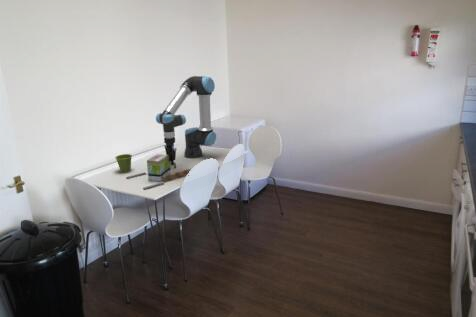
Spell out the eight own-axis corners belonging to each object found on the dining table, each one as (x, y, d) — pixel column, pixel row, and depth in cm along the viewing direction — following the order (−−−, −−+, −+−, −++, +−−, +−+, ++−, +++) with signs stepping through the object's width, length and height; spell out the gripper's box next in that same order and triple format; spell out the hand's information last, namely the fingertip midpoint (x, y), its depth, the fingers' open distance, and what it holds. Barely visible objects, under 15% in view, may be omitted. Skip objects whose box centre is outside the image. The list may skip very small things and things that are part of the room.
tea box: (161, 181, 237) (159, 161, 233) (148, 180, 240) (145, 160, 235) (170, 174, 251) (169, 154, 247) (158, 173, 254) (156, 153, 249)
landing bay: (144, 173, 253) (144, 172, 253) (164, 184, 233) (163, 183, 233) (126, 178, 245) (126, 177, 244) (144, 190, 224) (144, 188, 224)
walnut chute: (174, 167, 265) (174, 162, 264) (190, 174, 249) (190, 169, 248) (149, 173, 252) (148, 168, 251) (164, 182, 236) (164, 176, 235)
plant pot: (124, 167, 267) (122, 153, 263) (137, 169, 262) (135, 155, 259) (113, 172, 256) (111, 158, 253) (126, 174, 252) (124, 159, 248)
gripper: (160, 136, 246) (162, 168, 253) (169, 139, 237) (172, 172, 244) (169, 134, 251) (171, 165, 258) (179, 137, 241) (181, 170, 248)
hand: (172, 169), depth 251 cm, fingers closed
